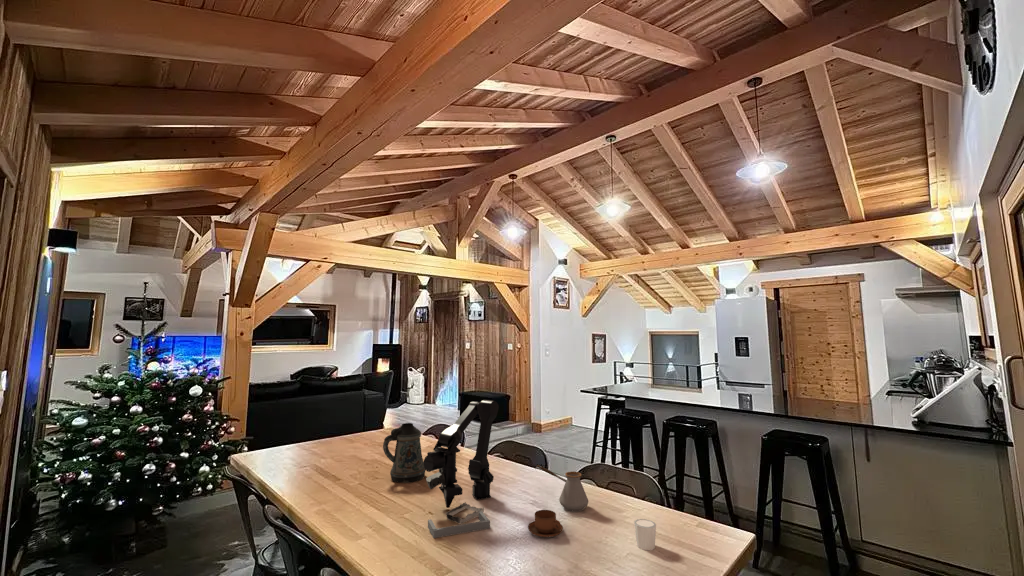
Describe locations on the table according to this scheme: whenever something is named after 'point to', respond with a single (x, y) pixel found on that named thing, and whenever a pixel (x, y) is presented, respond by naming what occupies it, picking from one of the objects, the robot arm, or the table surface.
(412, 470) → the beer stein
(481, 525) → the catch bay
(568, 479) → the grey coffee pot
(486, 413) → the robot arm
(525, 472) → the table surface
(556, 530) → the cup and saucer
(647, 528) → the shot glass
